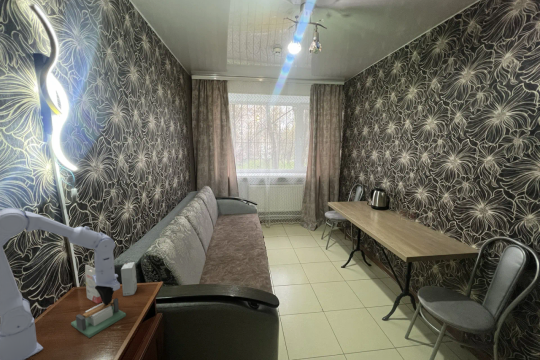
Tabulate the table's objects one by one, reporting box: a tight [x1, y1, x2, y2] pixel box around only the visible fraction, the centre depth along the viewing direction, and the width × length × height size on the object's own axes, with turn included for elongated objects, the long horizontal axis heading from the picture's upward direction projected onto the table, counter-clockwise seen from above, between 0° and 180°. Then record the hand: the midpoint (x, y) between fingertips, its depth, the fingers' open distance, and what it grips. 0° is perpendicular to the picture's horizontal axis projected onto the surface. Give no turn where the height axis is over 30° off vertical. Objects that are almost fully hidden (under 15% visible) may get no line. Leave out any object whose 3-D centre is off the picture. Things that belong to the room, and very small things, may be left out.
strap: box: [82, 298, 115, 318], centre depth 85 cm, size 10×2×1 cm, turn 152°
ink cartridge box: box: [84, 264, 103, 305], centre depth 97 cm, size 9×5×15 cm, turn 62°
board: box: [70, 297, 127, 339], centre depth 84 cm, size 12×12×6 cm
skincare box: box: [120, 261, 138, 297], centre depth 102 cm, size 6×4×12 cm
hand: (107, 302), depth 87 cm, fingers closed
